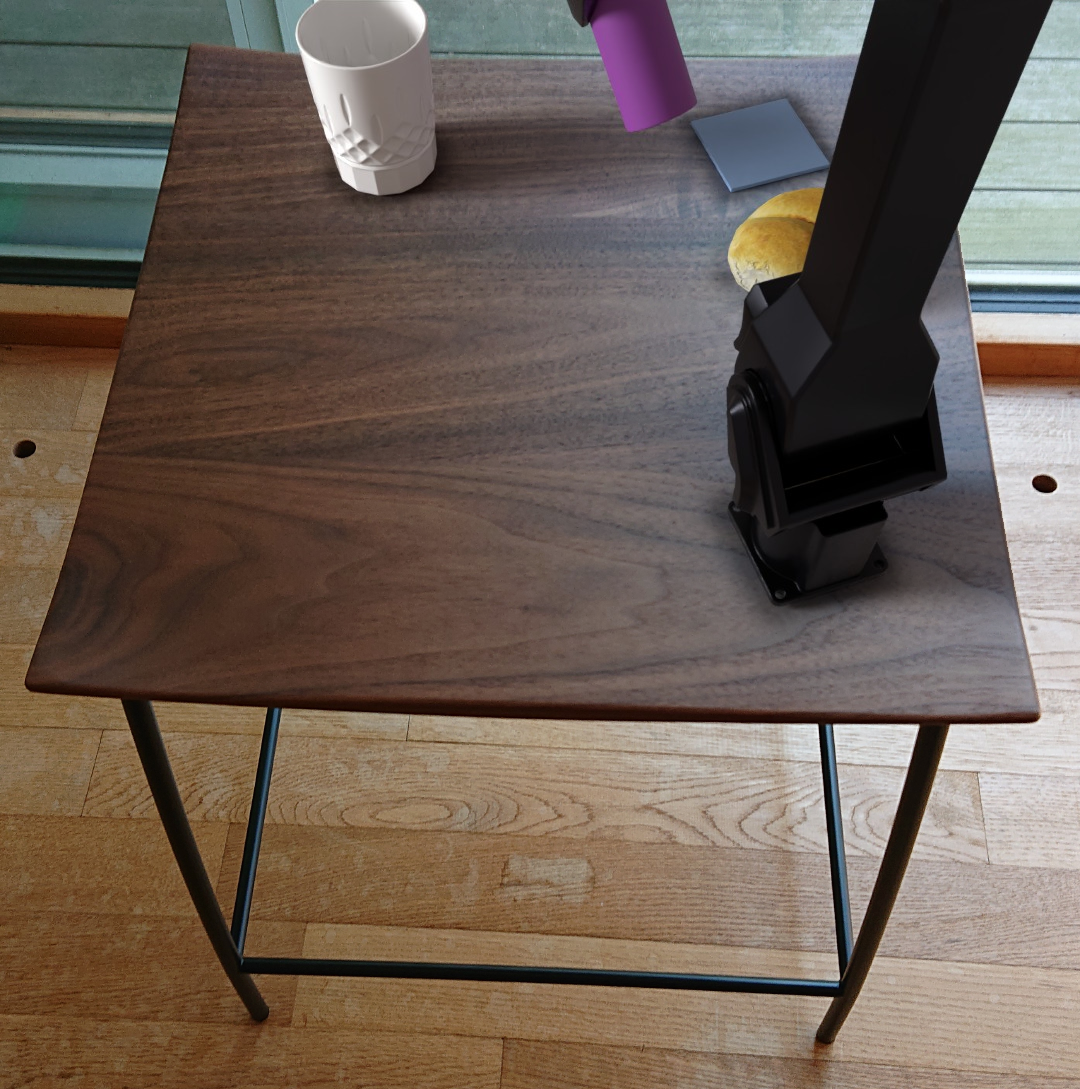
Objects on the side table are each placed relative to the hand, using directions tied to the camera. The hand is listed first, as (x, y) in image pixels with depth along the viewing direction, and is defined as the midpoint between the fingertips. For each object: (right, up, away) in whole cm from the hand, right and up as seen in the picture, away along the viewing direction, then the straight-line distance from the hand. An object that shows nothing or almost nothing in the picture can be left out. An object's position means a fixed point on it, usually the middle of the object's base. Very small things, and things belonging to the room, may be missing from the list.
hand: (614, 5), depth 62 cm
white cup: (-15, -5, +11) cm, 19 cm away
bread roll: (+12, -14, +5) cm, 19 cm away
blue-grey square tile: (+10, -4, +10) cm, 15 cm away
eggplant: (+3, -6, +2) cm, 7 cm away
